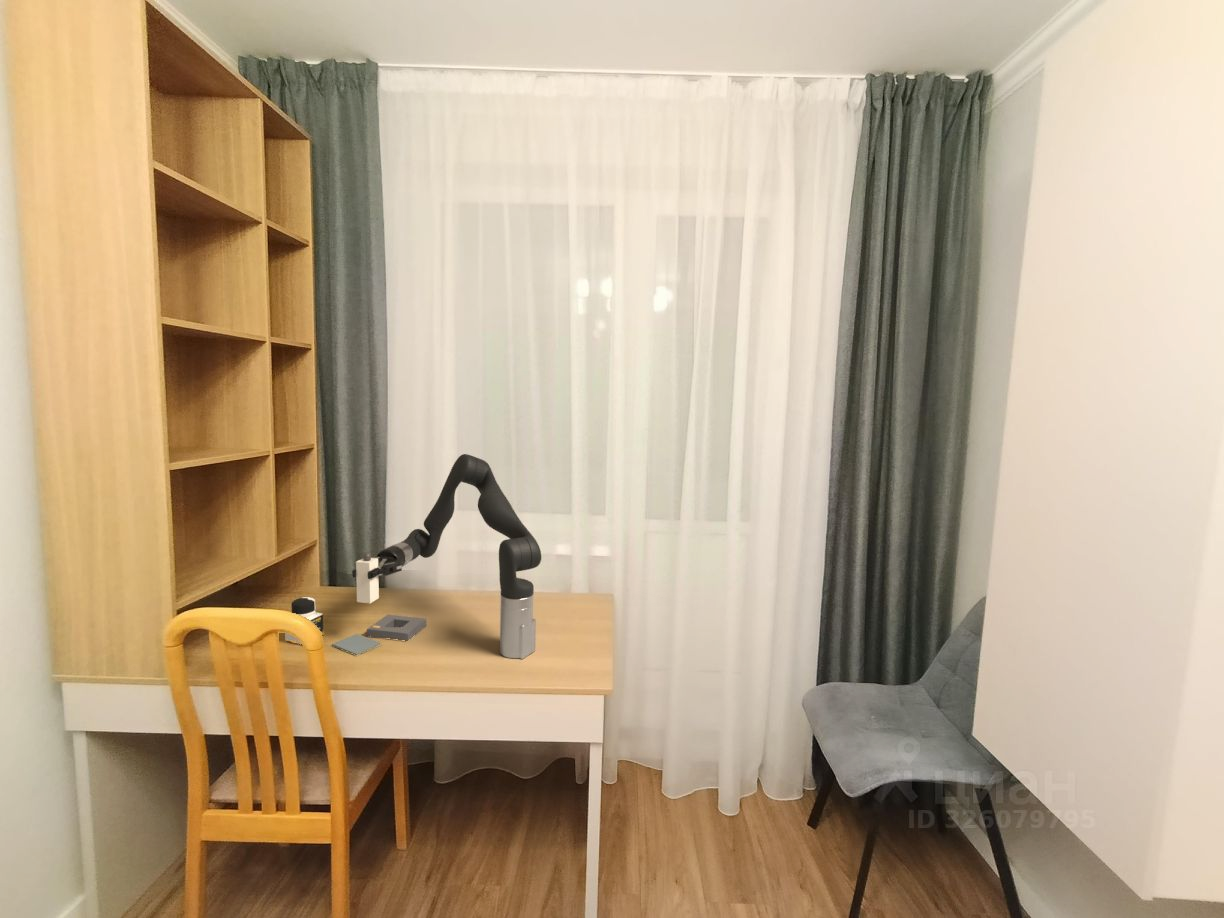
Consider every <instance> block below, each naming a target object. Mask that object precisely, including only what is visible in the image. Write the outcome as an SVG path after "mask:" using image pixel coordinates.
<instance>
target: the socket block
mask: <svg viewBox="0 0 1224 918" xmlns="http://www.w3.org/2000/svg"><path fill="white" fill-rule="evenodd" d="M394 626H396V627H394ZM400 627H402V628H400ZM426 627H427V618H425V617H415V616H404V615H398V614H386V615H385V616H384V617H382V618H381V619H379V620H378V621H376V622H374V623H373V624H372V625H370V626H369V627H368V628H366V637H367V636H369V637H368V638H372V637H379V638H378V639H380V638H390V639H398V640H405V641H404V642H406V641H408V640H409V639H410V640H412V639H413V638H414V637H415V636H416V635H418V634H417V633H418V632H419V633H420V632H422V630H424V629H425V628H426ZM414 635H415V636H414ZM370 636H371V637H370ZM413 636H414V637H413ZM412 637H413V638H412ZM411 638H412V639H411ZM410 640H409V641H410ZM409 641H408V642H409Z"/></svg>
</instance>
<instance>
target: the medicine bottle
mask: <svg viewBox="0 0 1224 918" xmlns="http://www.w3.org/2000/svg"><path fill="white" fill-rule="evenodd" d="M292 613H296V614H299V615H301V616H303V617H306V618H307V619H309V620H311V621H312V622H313V623H314V624H315V625H316V626H317V627H318V628H319V630H320V631H321V632H322V634H323V635H324V614H323V612H318V611H316V599H315V598H313V597H307V596H305V597H303V596H302V597H299V598H297V599H295V600H293V601H292V602H291V614H292ZM287 639H288V640H293V641H295V640H296V642H298V643H299V644H300V642H299V641H298V639H297V638H295V637H294V636H292V635H290V634H287V633H285V632H284V640H287ZM299 644H298V645H299ZM300 646H302V645H301V644H300Z"/></svg>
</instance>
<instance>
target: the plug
mask: <svg viewBox="0 0 1224 918" xmlns="http://www.w3.org/2000/svg"><path fill="white" fill-rule="evenodd" d="M362 556H363V557H362V558H363V559H362V558H360V559H358V560H357V561H355V564H356V567H355V569H356V602H357V603H362V604H363V603H364V604H372V603H374V602H375V601H377V600H378V599H379V598H380V594H379V593H380V590H379V587H380V586H379V584H380V583H379V580H380V579H379V576H376V577H374V578H372V579H368V571H371V570H373V569H374V568H377V567H378V559H377V558H376V557H372V553H371V552H368V551H367V552H363V553H362Z"/></svg>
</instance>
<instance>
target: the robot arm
mask: <svg viewBox="0 0 1224 918" xmlns="http://www.w3.org/2000/svg"><path fill="white" fill-rule="evenodd" d="M461 483H465V484H467V485H471V486H473V487H475V488H476V489H477V490H478V492H479V494H480V495H479V498H478V500H477V510H478V511H479V514H480V515H481V517H482V519H483V521H484V523H485V524H486V525H487V526H488V527H489V528H491V529H493V530H494V531H496V532H497V533H499V534H501V535H503V536H505V537H506V538H508V539H504V540H502V541H501V542H500V544H499V549H498V567H499V573H498V574H499V585H500V613H499V616H500V622H499V623H500V625H499V626H500V627H499V629H500V630H499V631H500V632H499V640H500V642H499V653H500V654H501V655H502V656H503V657H505V658H507V659H522V660H523V659H524V658H526V657H528V656H529V655H530V654H532V653H534V652H536V635H537V634H536V633H537V632H536V630H537V620H536V618H534V592H535V590H534V584H533V582H532V581H530V580H528V579H526V578H521V577H517V572H522V571H528V570H533V569H535V568H537V567H538V566H540V564H541V562H542V551H541V547H540V546H539V543H538V541H537V540H536V538H535V537H534V536H533V534H532V533H531V532H530V531H529V530H528V528H527V527H526V526H525V525H524V523H523V522H522V521H521V520H520V518H519V517H518V514H517V513H516V512H515V510H514V508H513V506H512V504H511V503H510V501H509V500H508V498H507V497H506V495H505V494H504V492H503V490H502V489H501V487H500V485H499V484H498V482H497V480H496V477H495V475H494V472H493V471H492V468H491V466H490V465H489V463H488V462H487V461H486V460H483V459H482V458H479V457H476V456H473V455H471V454H468V453H465V454H464V453H463V454H461V455H460V456H458V457H457V459H456V460H455V461H454V463H453V464H452V467H451V469H450V471H449V473H448V476H447V478H446V480H445V482H444V485H443V487H442V490H441V491H440V494H439V496H438V499H437V500H436V502H435V504H434V505H433V507H432V509H431V510H430V511H429V513H428V514H427V516H426V518H425V519H424V520H423V527H424V529H425V530H426V531H427V532H428V533H427V532H426V531H425V530H423V529H421V528H416V529H413V530H412V531H410V533H409V534H408V536H407V537H406V538H405V539H404V540H402V541H401V542H397V543H394V544H392V545H390V546H389V547H386V548H384V549H382V550H380V551H379V552H378V553H377V554H376V557H375V558H377V559H378V567H377V568H374V569H373V570H371V571H368V579H372V578H374V577H376V576H378V577H379V576H382V575H383V576H386V577H387V576H390V575H393V574H397V573H398V572H401V571H402V570H403V567H404V566H406V565H407V564H409V563H411V562H412V561H414V560H416V559H417V558H418V557H419V556H420V557H422V558H424V559H426V558H430V557H432V556H434V555H435V553H436V551H437V550H438V547H439V544H440V540H441V537H442V534H443V532H444V530H445V528H446V527H447V525H449V522H450V520H451V519H452V518H453V515H454V513H455V494H456V490H457V488H458V487H459V485H460V484H461ZM361 559H363V557H362V558H361ZM354 565H355V568H354V569H352V572H351V573H352V574H351V575H352V578H356V563H354Z"/></svg>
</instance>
